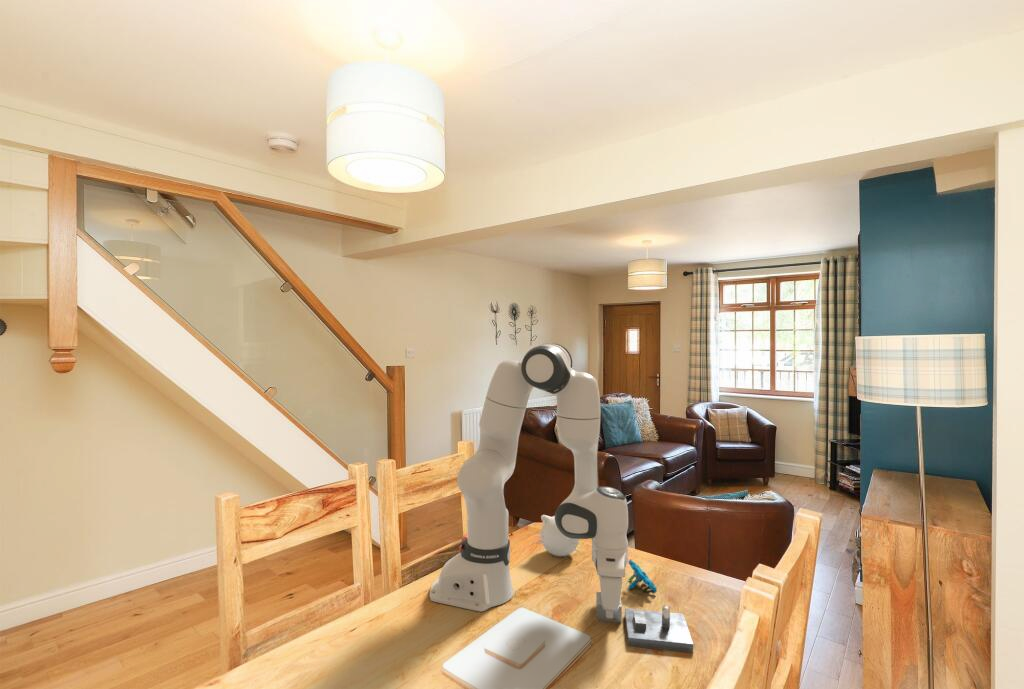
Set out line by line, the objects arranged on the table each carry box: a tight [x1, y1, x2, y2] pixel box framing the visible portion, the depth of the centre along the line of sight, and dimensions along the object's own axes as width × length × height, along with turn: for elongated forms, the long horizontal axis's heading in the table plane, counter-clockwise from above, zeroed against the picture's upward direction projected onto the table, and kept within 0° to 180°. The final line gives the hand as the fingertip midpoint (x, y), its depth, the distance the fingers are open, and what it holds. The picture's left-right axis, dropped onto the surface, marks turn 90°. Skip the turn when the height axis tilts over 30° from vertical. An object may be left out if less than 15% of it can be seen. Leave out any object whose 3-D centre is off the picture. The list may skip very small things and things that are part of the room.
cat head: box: [533, 514, 580, 557], centre depth 159 cm, size 15×13×12 cm
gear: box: [628, 559, 658, 593], centre depth 139 cm, size 11×6×10 cm
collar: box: [595, 591, 623, 624], centre depth 126 cm, size 6×6×4 cm
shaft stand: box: [624, 604, 694, 654], centre depth 118 cm, size 14×12×6 cm
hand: (608, 608), depth 126 cm, fingers closed on collar, 6 cm apart
